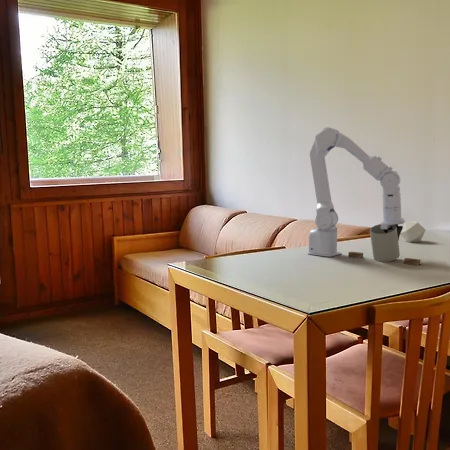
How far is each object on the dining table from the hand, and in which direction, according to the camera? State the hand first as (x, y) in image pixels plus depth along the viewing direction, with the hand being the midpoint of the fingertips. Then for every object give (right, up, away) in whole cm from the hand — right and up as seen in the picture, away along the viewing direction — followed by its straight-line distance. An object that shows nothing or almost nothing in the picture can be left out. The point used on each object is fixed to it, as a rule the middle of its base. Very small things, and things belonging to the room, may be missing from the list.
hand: (393, 247), depth 170 cm
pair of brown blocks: (-4, -4, -2) cm, 6 cm away
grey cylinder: (-3, -3, -1) cm, 4 cm away
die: (+19, +1, +35) cm, 40 cm away
